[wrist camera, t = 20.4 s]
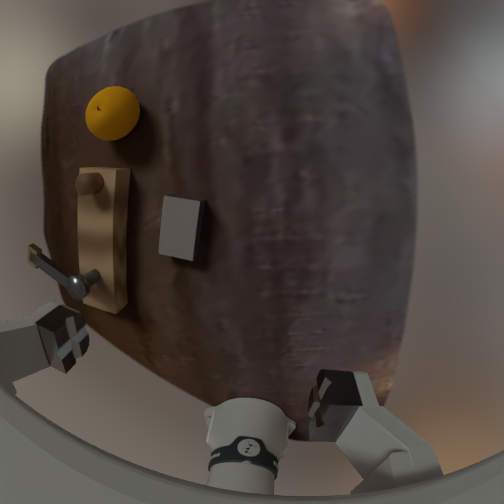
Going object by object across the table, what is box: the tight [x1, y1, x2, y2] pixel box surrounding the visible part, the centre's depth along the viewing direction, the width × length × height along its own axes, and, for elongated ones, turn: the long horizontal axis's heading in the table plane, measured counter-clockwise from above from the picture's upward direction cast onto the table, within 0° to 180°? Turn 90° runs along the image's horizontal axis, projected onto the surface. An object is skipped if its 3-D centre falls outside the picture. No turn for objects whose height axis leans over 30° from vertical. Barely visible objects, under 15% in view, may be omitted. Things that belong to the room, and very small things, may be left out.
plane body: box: [75, 167, 131, 314], centre depth 35 cm, size 22×7×8 cm, turn 171°
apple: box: [86, 86, 140, 140], centre depth 30 cm, size 8×8×8 cm
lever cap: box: [159, 194, 206, 261], centre depth 36 cm, size 8×5×3 cm, turn 170°
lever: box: [28, 244, 90, 301], centre depth 32 cm, size 13×4×2 cm, turn 66°
